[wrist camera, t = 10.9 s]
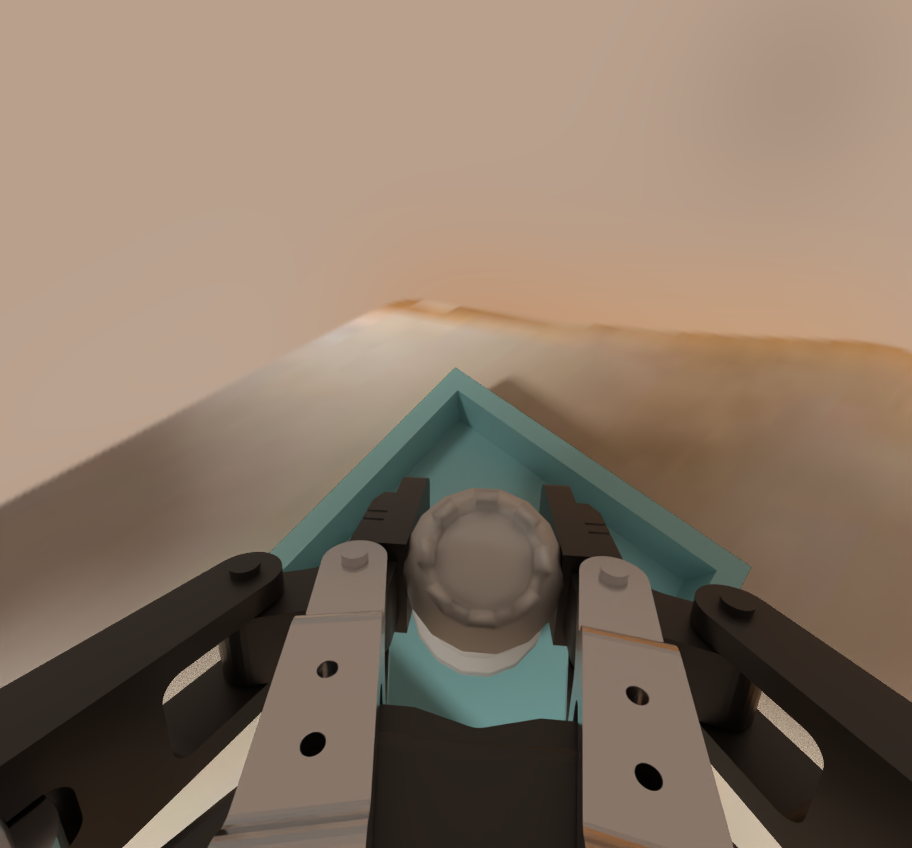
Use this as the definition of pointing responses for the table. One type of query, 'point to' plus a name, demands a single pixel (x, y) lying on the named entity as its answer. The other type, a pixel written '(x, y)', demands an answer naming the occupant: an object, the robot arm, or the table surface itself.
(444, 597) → the rook chess piece
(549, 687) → the tray
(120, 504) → the table surface
